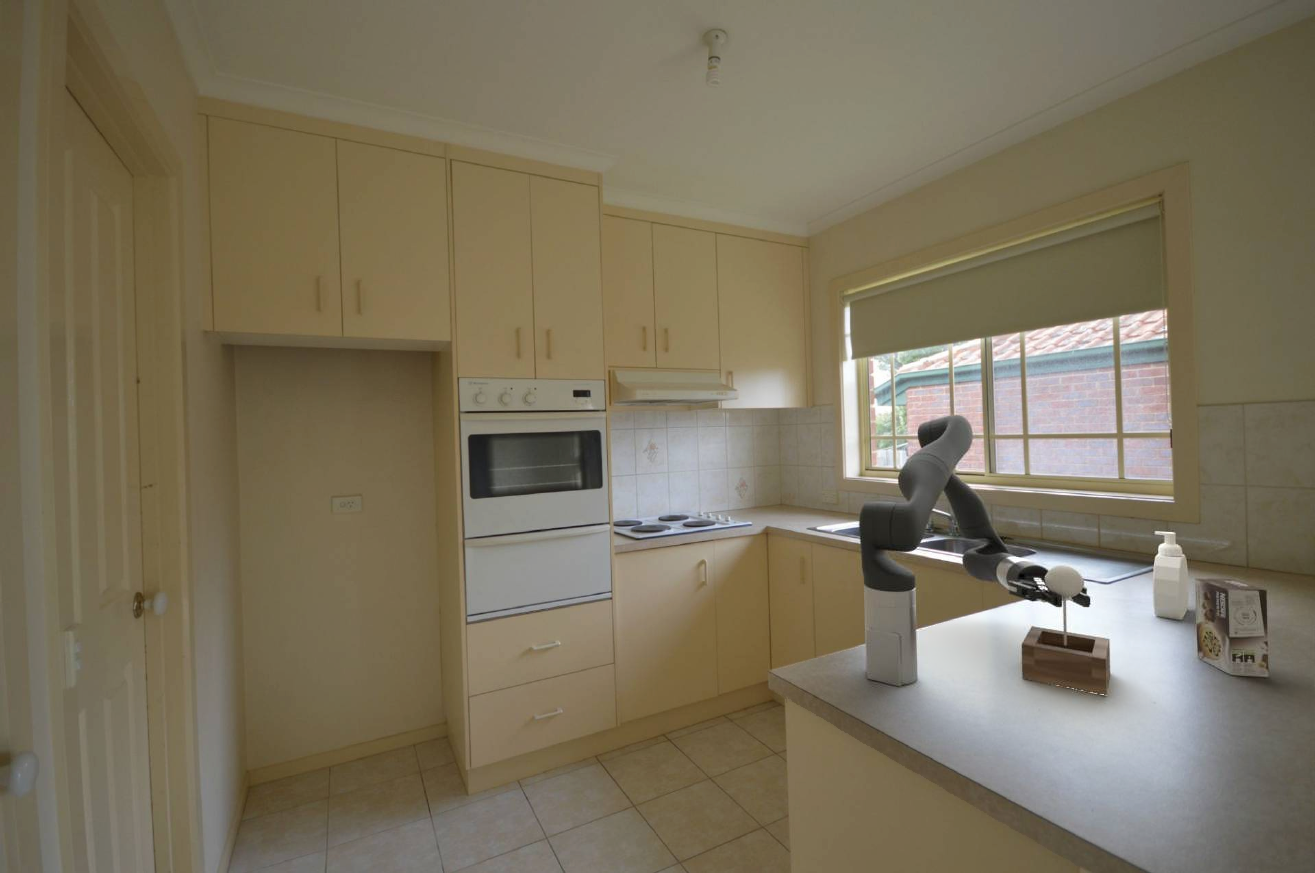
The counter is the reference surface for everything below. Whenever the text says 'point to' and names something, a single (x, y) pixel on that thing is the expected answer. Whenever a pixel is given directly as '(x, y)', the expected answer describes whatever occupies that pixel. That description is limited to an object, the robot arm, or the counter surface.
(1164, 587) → the soap bottle
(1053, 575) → the lollipop
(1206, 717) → the counter surface
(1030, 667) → the base
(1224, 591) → the coffee box
